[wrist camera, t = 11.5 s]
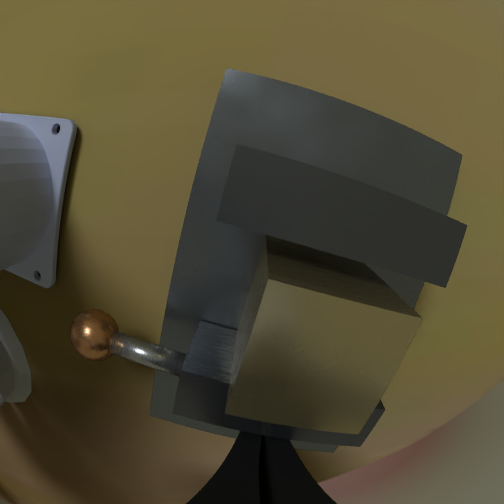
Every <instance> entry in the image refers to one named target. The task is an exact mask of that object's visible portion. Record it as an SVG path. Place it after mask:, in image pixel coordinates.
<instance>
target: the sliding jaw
mask: <svg viewBox="0 0 504 504" xmlns="http://www.w3.org/2000/svg"><path fill="white" fill-rule="evenodd" d="M236 337H237V331H236V330H232V329H229V328H225V327H221V326H218V325H214V324H210V323H207V322H203V321H200V323H199V326H198V328H197V331H196V333H195V336H194V338H193V341H192V343H191V346H190V348H189V351H188V353H187V354H185V353H181V352H178V351H175V350H172V349H168V348H165V347H162V346H159V345H156V344H153V343H150V342H147V341H144V340H141V339H138V338H135V337H132V336H129V335H126V334H124V333H121V332H119V328H118V326H117V324H116V322H115V320H114V319H113V318H112V317H111V316H110V315H109V314H108V313H106V312H104V311H102V310H99V309H88V310H85V311H83V312H81V313H79V314H78V315H77V316H76V317H75V319H74V320H73V322H72V324H71V328H70V339H71V342H72V345H73V347H74V348H75V350H76V351H77V352H78V353H79V354H80V355H81V356H82V357H84V358H86V359H88V360H92V361H101V360H105V359H107V358H109V357H110V356H111V355H116V356H119V357H121V358H124V359H127V360H129V361H132V362H135V363H138V364H141V365H144V366H147V367H150V368H153V369H156V370H159V371H162V372H165V373H168V374H171V375H175V376H178V377H179V381H178V386H177V391H176V397H175V402H174V407H173V412H172V413H173V414H176V415H179V416H183V417H186V418H190V419H193V420H197V421H201V422H205V423H209V424H213V425H217V426H221V427H225V428H230V429H234V430H239V431H244V432H249V433H254V434H259V435H264V436H270V437H276V438H282V439H289V440H296V441H304V442H312V443H321V444H331V445H343V446H358V447H360V446H361V445H362V443H363V442H364V441H365V439H366V438H367V436H368V435H369V433H370V432H371V431H372V429H373V428H374V426H375V425H376V423H377V422H378V420H379V419H380V417H381V415H382V414H383V412H384V411H385V408H384V406H383V404H382V402H381V399H380V401H379V403H378V404H377V406H376V407H375V409H374V411H373V412H372V414H371V415H370V417H369V419H368V420H367V422H366V423H365V425H364V426H363V428H362V429H361V431H360V432H359V434H348V433H337V432H328V431H319V430H311V429H304V428H297V427H291V426H285V425H279V424H273V423H267V422H262V421H257V420H252V419H247V418H243V417H238V416H234V415H229V414H225V409H226V402H227V396H228V389H229V382H230V376H231V369H232V363H233V356H234V350H235V343H236Z"/></svg>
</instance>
